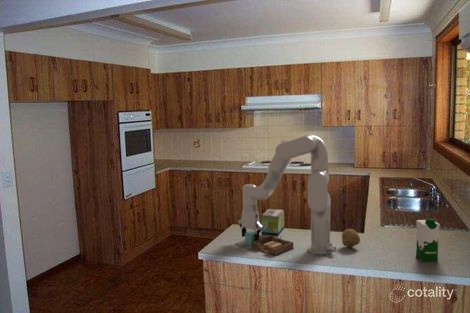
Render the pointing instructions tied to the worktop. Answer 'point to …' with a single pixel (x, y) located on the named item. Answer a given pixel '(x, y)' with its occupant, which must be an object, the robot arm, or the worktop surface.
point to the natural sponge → (350, 238)
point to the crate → (272, 245)
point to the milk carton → (427, 239)
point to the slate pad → (244, 245)
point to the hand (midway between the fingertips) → (250, 238)
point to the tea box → (273, 223)
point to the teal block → (249, 238)
